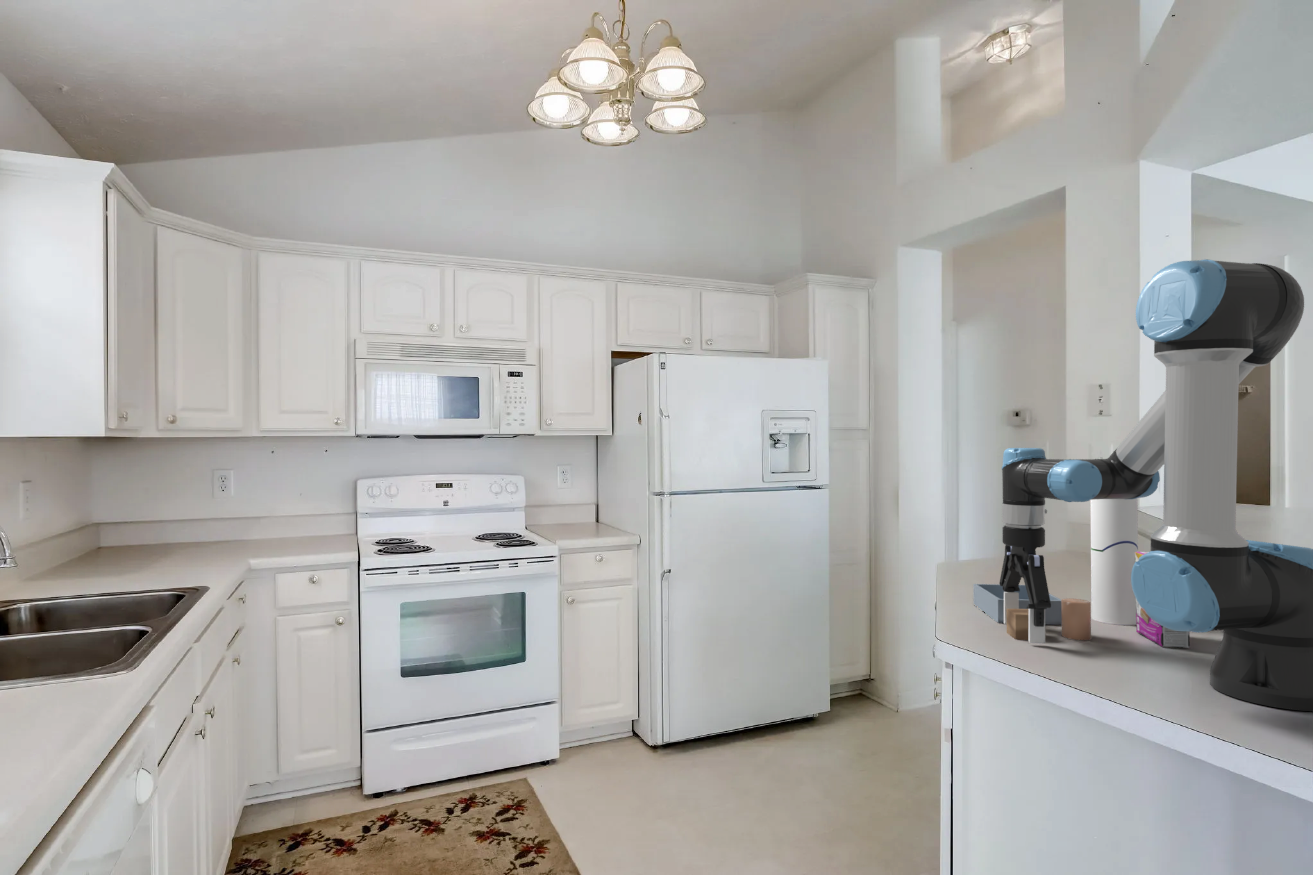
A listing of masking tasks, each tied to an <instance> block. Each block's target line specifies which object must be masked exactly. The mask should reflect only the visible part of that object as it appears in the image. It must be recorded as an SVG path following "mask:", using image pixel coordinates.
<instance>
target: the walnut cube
mask: <svg viewBox="0 0 1313 875" xmlns="http://www.w3.org/2000/svg"><path fill="white" fill-rule="evenodd" d="M1028 621H1029V609H1008V608H1007V624H1006V634H1007V635H1009V637H1011V638H1013V639H1014V640H1017V641H1018V640H1019V641H1022V640H1023V641H1028Z"/></svg>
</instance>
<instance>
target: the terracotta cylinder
mask: <svg viewBox="0 0 1313 875" xmlns="http://www.w3.org/2000/svg"><path fill="white" fill-rule="evenodd" d="M1061 614H1062V625H1061V636H1062V637H1063V638H1065V639H1069V640H1075V641H1089V640H1091V639H1092V618H1091V601H1089V600H1087V599H1081V598H1067V597H1066V598H1062V599H1061Z"/></svg>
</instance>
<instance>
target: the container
mask: <svg viewBox="0 0 1313 875" xmlns="http://www.w3.org/2000/svg"><path fill="white" fill-rule="evenodd" d="M1138 499H1139V498H1136V499H1095V500H1089V501H1090V589H1091V591H1090V596H1091V598H1090V600H1091V601H1090V602H1091V620H1093V621H1096V622H1100V623H1103V624H1108V625H1118V626H1136V597H1135V595H1134V592H1133V589H1132V584H1131V572H1132V568H1133V565H1134V563H1135V552H1139V530H1138V529H1139V522H1138V521H1139V516H1138V515H1139V513H1138V512H1139V510H1138V505H1139V504H1138V501H1139V500H1138Z"/></svg>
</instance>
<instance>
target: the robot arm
mask: <svg viewBox="0 0 1313 875" xmlns="http://www.w3.org/2000/svg"><path fill="white" fill-rule="evenodd" d="M1304 296H1305V295H1304V293H1303V289H1302V286H1301V285H1300V284H1299V282H1298V280H1297V279H1296V278H1295V277H1294V276H1293V275H1291V274H1290V273H1289V272H1288V271H1286V270H1284V269H1283V268H1280V267H1278V266H1277V265H1271V264H1267V263H1266V264H1265V263H1260V262H1259V263H1258V262H1257V263H1256V262H1253V263H1246V262H1236V261H1235V262H1234V261H1223V260H1213V259H1206V258H1204V259H1201V260H1200V259H1199V260H1197V259H1196V260H1181V261H1175V262H1173V263H1171V264H1168V265H1167V266H1164V267H1163V268H1161V269H1160V270H1159V271H1157V272H1156V273H1155V274H1153V276H1152V277H1151V279H1150V281H1147V282H1146V283H1145V285H1144V287H1143V288H1142V290H1141V292H1140V293H1139V297H1138V299H1137V302H1136V306H1135V320H1136V324H1137V327H1138V328H1139V329H1140V330H1142V333H1143V335H1144V336H1145V337H1146V338H1148V339H1150V340H1152V341H1153V344H1154V345H1153V347H1154V350H1153V352H1154V353H1153V357H1154V358H1156V359H1157V360H1158V361H1159V362H1160V363H1162V365H1164V367H1165V391H1164V392H1162V394H1161V395H1160V396H1159V398H1157V399H1156V400H1155V402H1154V403H1153V404H1152V406H1151V407H1150V408H1149V410H1148V411H1147V412H1146V413H1145V414H1144V415H1143V416H1142V418H1141V419H1140V420H1139V421H1138V422H1137V423H1136V425H1135V426H1134V427H1133V428H1132V430H1131V431H1130V432H1129V433H1128V434H1127V435H1126V437H1125V438H1124V439H1123V440H1122V441H1121V442H1120V444H1119V445H1118V446H1117V447H1116V448H1115V450H1114V451H1112V453H1111V454H1110V455H1109V457H1107V458H1095V459H1094V458H1090V459H1089V458H1085V459H1083V458H1082V459H1081V458H1078V459H1077V458H1076V459H1074V458H1073V459H1071V458H1069V459H1064V458H1063V459H1060V458H1055V459H1054V458H1053V459H1052V458H1049V459H1048V458H1047V457H1046V451H1045V450H1044V449H1043V448H1041V447H1008V448H1006V449H1004V451H1003V457H1002V466H1001V472H1002V479H1001V480H1002V504H1001V508H1002V509H1001V510H1002V511H1001V517H1002V518H1001V522H1002V523H1003V524H1005V525H1003V526H1002V544H1004V545H1005V546H1004V557H1003V563H1002V568H1001V573H1000V578H999V583H998V584H1000V586H1003V587H1002V589H1003V591H1005V592H1004V623H1003V624H1004V625H1007V608H1008V609H1019V593H1018V592H1014V591H1020V589H1019V586H1018V585H1020V583H1021V580H1022V579H1023V583H1024V585H1025V586H1026V590H1027V594H1028V597H1029V601H1030V604H1029V605H1028V606H1027V608H1028V609H1029V621H1028V640H1027V642H1028V643H1030V644H1046V624H1045V609H1047V608H1051V602H1050V597H1049V594H1050V592H1049V586H1048V581H1047V575H1046V571H1045V558H1044V557H1045V556H1044V555H1043V554H1037V551H1036V549H1037V548H1043V547H1045V545H1046V529H1045V527H1042V526H1044V525H1045V524H1046V519H1045V517H1046V514H1048V510H1047V508H1046V499H1050V500H1056V501H1057V500H1059V501H1064V502H1066V503H1085V502H1089V501H1090V500H1095V499H1136V498H1138V499H1141V498H1147V497H1149V496H1151V495H1153V494H1154V493H1155V492H1156V491H1157V489H1158V485H1159V482H1160V480H1161V478H1160V472H1159V470H1160V469H1161V468H1162V467H1163V512H1162V513H1163V515H1162V518H1163V519H1162V523H1163V524H1162V525H1161V526H1160V527H1158V528H1157V529H1156V530H1155V531H1154V532H1153V533H1151V534H1150V551H1147V552H1148V553H1146V554H1144V555H1142V556H1141V557H1139V561H1137V562H1135V563H1134V565H1133V568H1132V572H1131V584H1132V589H1133V592H1134V595H1135V597H1136V599H1137V601H1138V603H1139V605H1140V606H1141V607H1142V608H1144V609H1145V611H1146V613H1147V615H1148V616H1149V617H1150V618H1151V619H1153V620H1154V621H1155V622H1157V623H1158V624H1160V625H1161V626H1163V627H1166V628H1168V629H1171V630H1175V631H1190V632H1192V633H1199V634H1200V633H1207V632H1211V631H1223V632H1222V633H1223V635H1222V640H1221V642H1220V643H1219V647H1218V649H1217V651H1216V654H1215V656H1214V659H1213V660H1212V665H1211V666H1210V668H1209V669H1210V670H1209V685H1210V687H1212V688H1213V689H1214V690H1216V691H1217V692H1220V693H1222V694H1225V695H1226V696H1229V697H1233V698H1235V699H1238V700H1242V701H1245V702H1249V703H1252V704H1253V703H1254V704H1257V705H1261V706H1267V707H1271V708H1272V707H1273V708H1279V709H1285V710H1290V711H1291V710H1292V711H1302V712H1303V711H1304V712H1313V548H1311V547H1305V546H1298V545H1290V544H1283V543H1282V544H1281V543H1275V542H1266V541H1258V540H1249V539H1245V537H1243V536H1242V535H1241V534H1239V532H1238V531H1237V529H1236V525H1237V524H1236V522H1237V521H1236V520H1237V517H1236V516H1237V480H1238V479H1237V478H1238V476H1237V474H1238V466H1237V465H1238V436H1239V434H1238V432H1239V431H1238V428H1239V425H1238V422H1239V388H1240V387H1239V385H1240V384H1241V383H1242V381H1244V379H1246V377H1247V376H1248V375H1249V374H1250V373H1251V372H1252V371H1254V369H1255V368H1256V367H1257V368H1258V367H1263V366H1267V365H1268V364H1270V363H1271V361H1273V360H1274V358H1275V357H1276V356H1278V354H1279V353H1280V352H1281V351H1282V350H1284V348H1285V346H1287V344H1288V343H1289V341H1290V339H1292V337H1293V335H1294V334H1295V332H1296V331H1297V329H1298V328H1299V325H1300V323H1301V321H1302V318H1303V315H1304V310H1305V309H1304V308H1305V297H1304Z"/></svg>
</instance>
